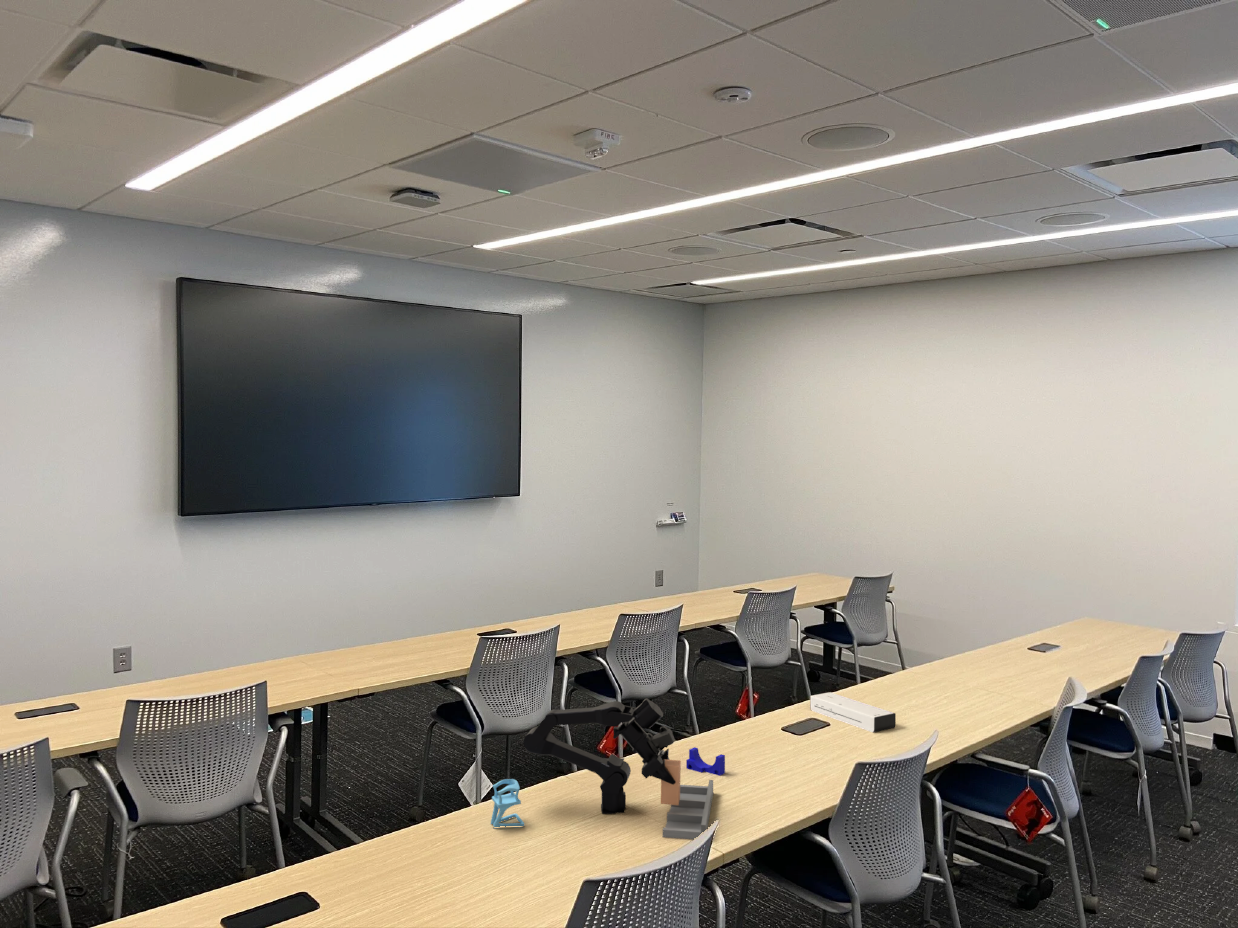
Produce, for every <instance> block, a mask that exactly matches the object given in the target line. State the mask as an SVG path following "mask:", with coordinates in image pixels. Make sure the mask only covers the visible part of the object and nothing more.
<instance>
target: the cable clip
mask: <svg viewBox="0 0 1238 928" xmlns="http://www.w3.org/2000/svg"><path fill="white" fill-rule="evenodd" d="M685 767H686V769H687V770H690V771H694V772H698V773H704V772H705V773H709V774H712V775H715V776H720V777H721V776H722V775H724V774H725V773H726V755H724V754H718V755H716V756H715V760H714V763H713V764H712V765H711V764H708V763H706V762H705V760H703V759H702V757H701V755H700V752H699V748H698V747H696V746H695V747H694V746H693V747H692V748H690V749H688V758H687V759H686V766H685Z"/></svg>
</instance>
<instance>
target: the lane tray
mask: <svg viewBox="0 0 1238 928" xmlns="http://www.w3.org/2000/svg"><path fill="white" fill-rule="evenodd" d="M713 797H714V780H713V779H708V785H694V784H693V785H691V784H680V801H679V805H670V809H669V811H667V812H666V823H665V827H662V838H668V839H669V838H670V839H680V840H681V839H684V840H693V839H694V838H696V837H698V836H699V835H700V834H701V833H702V832H704V831H705V830H706V829H707V828H708V827H709V821H710V815H711V810H712V804H713ZM707 830H708V829H707Z"/></svg>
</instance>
